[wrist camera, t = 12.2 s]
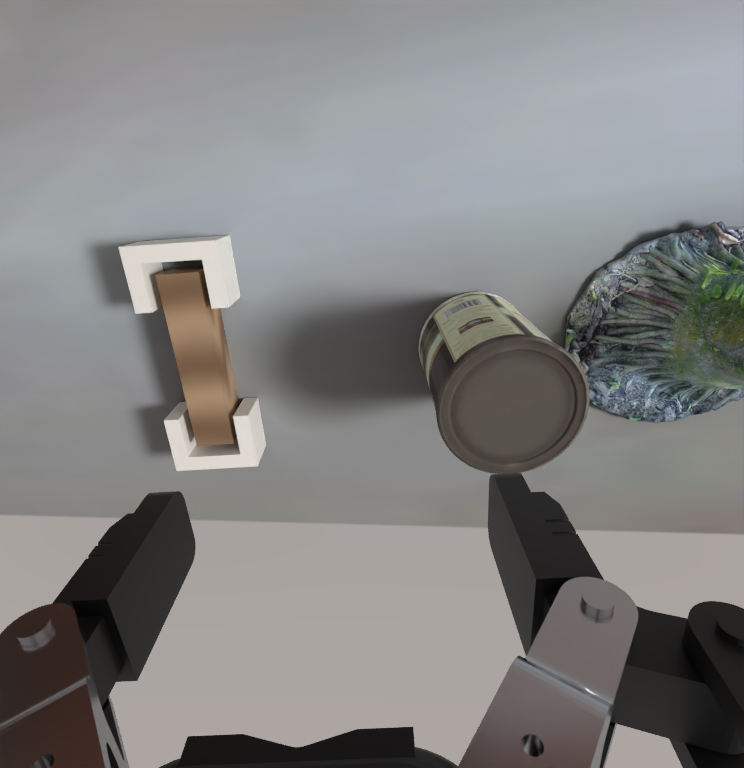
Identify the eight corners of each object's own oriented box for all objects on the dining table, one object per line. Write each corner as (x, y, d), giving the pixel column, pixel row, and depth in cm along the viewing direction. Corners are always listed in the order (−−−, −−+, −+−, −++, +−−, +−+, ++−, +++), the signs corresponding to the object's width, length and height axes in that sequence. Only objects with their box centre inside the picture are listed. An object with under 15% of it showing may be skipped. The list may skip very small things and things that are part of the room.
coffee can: (471, 414, 48) (508, 499, 35) (395, 349, 46) (405, 416, 33) (550, 340, 45) (622, 404, 32) (474, 266, 43) (519, 303, 30)
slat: (173, 267, 43) (155, 275, 39) (212, 264, 43) (197, 272, 39) (209, 426, 49) (196, 446, 46) (243, 424, 49) (233, 443, 46)
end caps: (140, 241, 42) (118, 247, 38) (229, 235, 42) (215, 240, 38) (191, 449, 50) (176, 470, 46) (266, 445, 50) (257, 466, 46)
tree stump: (560, 235, 42) (761, 243, 26) (747, 211, 46) (1028, 204, 30) (555, 426, 48) (715, 531, 32) (721, 390, 52) (940, 468, 36)
